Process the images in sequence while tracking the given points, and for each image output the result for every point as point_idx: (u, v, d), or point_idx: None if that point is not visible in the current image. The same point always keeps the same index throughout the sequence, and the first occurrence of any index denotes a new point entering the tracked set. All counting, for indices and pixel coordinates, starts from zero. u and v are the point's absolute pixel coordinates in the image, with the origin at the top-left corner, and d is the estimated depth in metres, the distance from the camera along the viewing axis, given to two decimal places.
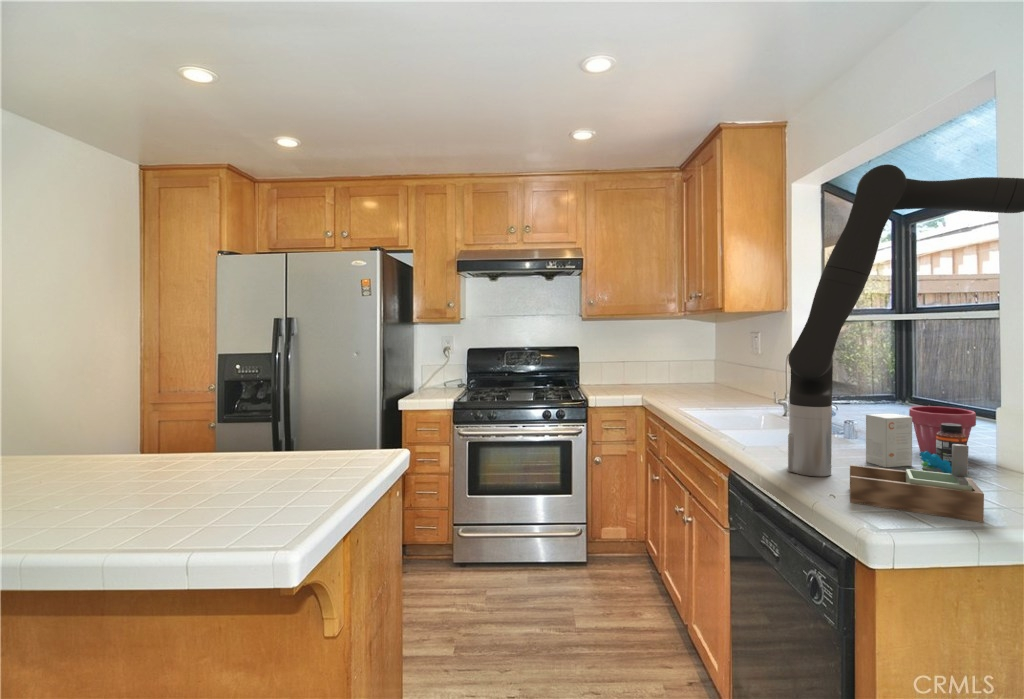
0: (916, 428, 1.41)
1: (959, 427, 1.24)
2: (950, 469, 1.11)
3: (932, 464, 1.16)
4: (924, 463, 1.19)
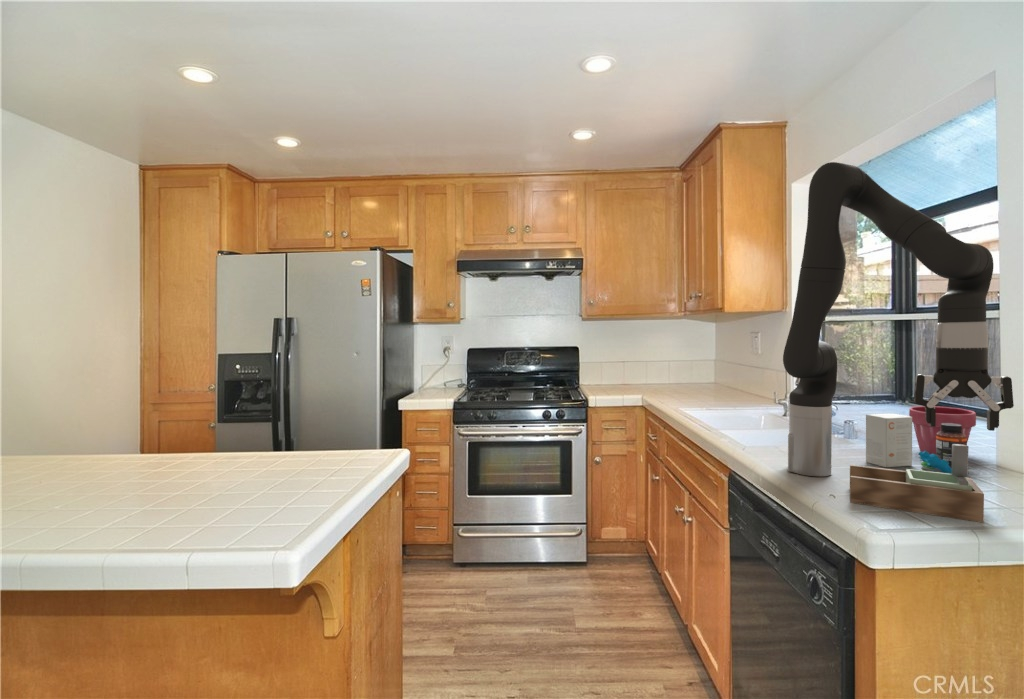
0: (916, 428, 1.41)
1: (959, 427, 1.24)
2: (948, 469, 1.11)
3: (931, 464, 1.16)
4: (924, 463, 1.19)
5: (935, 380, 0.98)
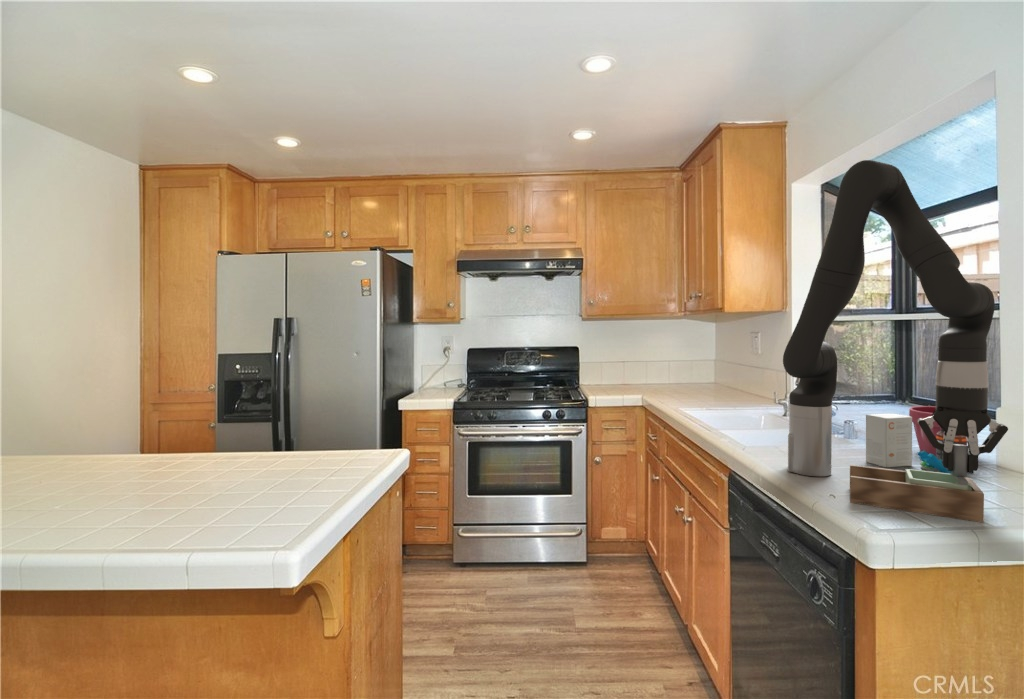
0: (916, 428, 1.41)
1: None
2: None
3: (930, 464, 1.16)
4: (923, 463, 1.19)
5: (936, 420, 0.98)
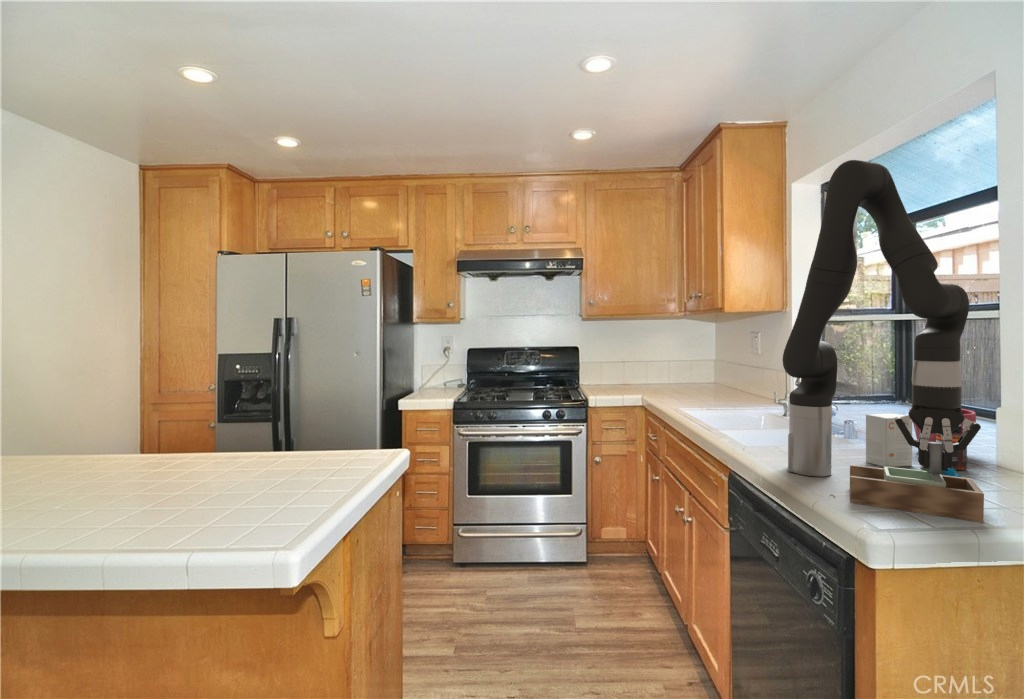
0: (916, 428, 1.41)
1: (959, 427, 1.24)
2: None
3: None
4: None
5: (912, 418, 1.00)
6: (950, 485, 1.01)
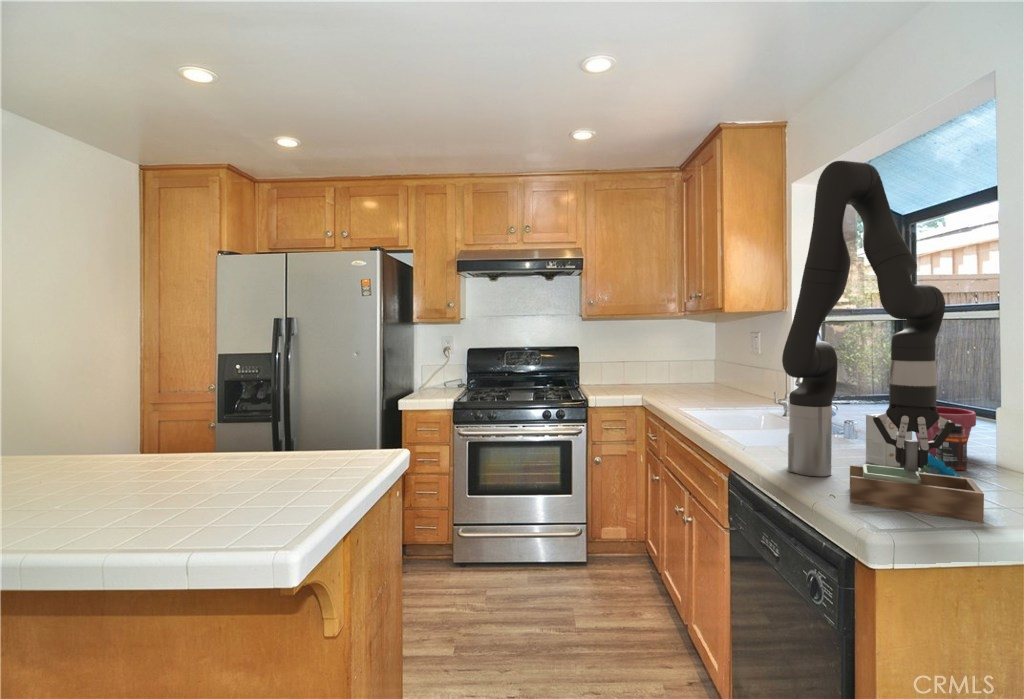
0: None
1: (959, 427, 1.24)
2: (945, 469, 1.11)
3: (929, 464, 1.16)
4: None
5: (889, 417, 1.02)
6: (950, 485, 1.01)
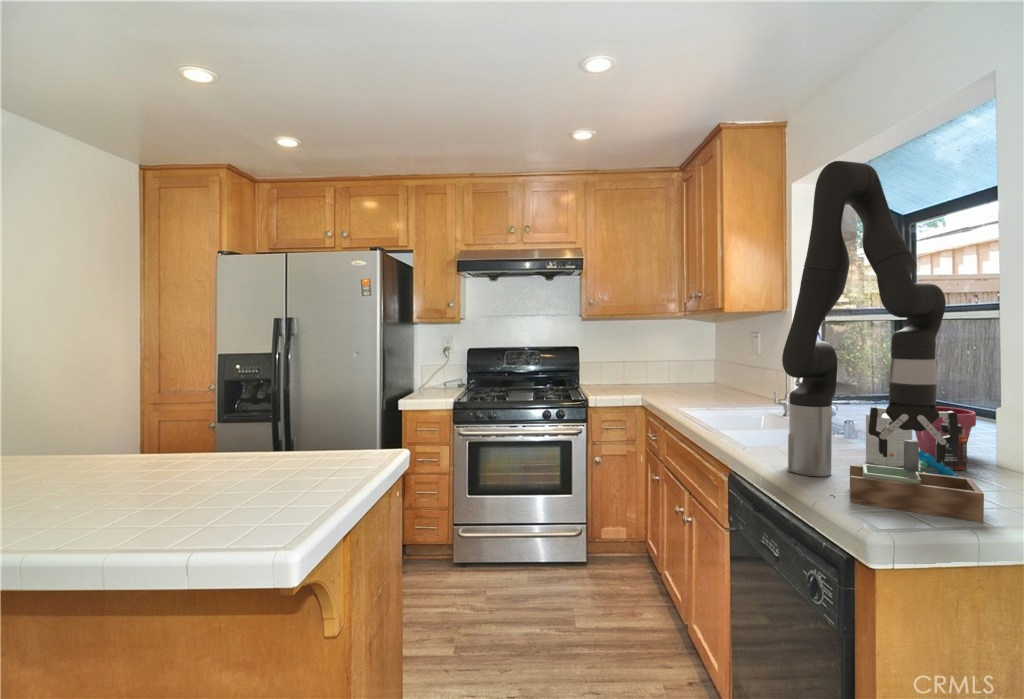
0: None
1: (959, 427, 1.24)
2: (943, 469, 1.11)
3: (928, 464, 1.16)
4: (922, 463, 1.19)
5: (887, 413, 1.02)
6: (950, 485, 1.01)
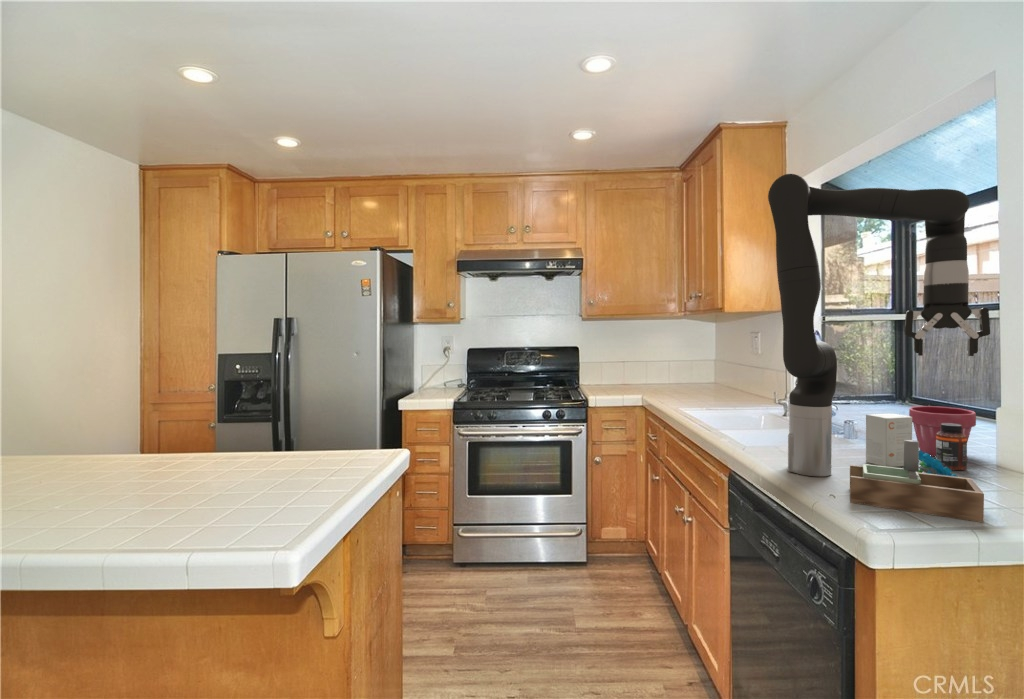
0: (916, 428, 1.41)
1: (959, 427, 1.24)
2: (942, 468, 1.12)
3: (927, 463, 1.16)
4: (922, 463, 1.19)
5: (922, 314, 1.11)
6: (950, 485, 1.01)
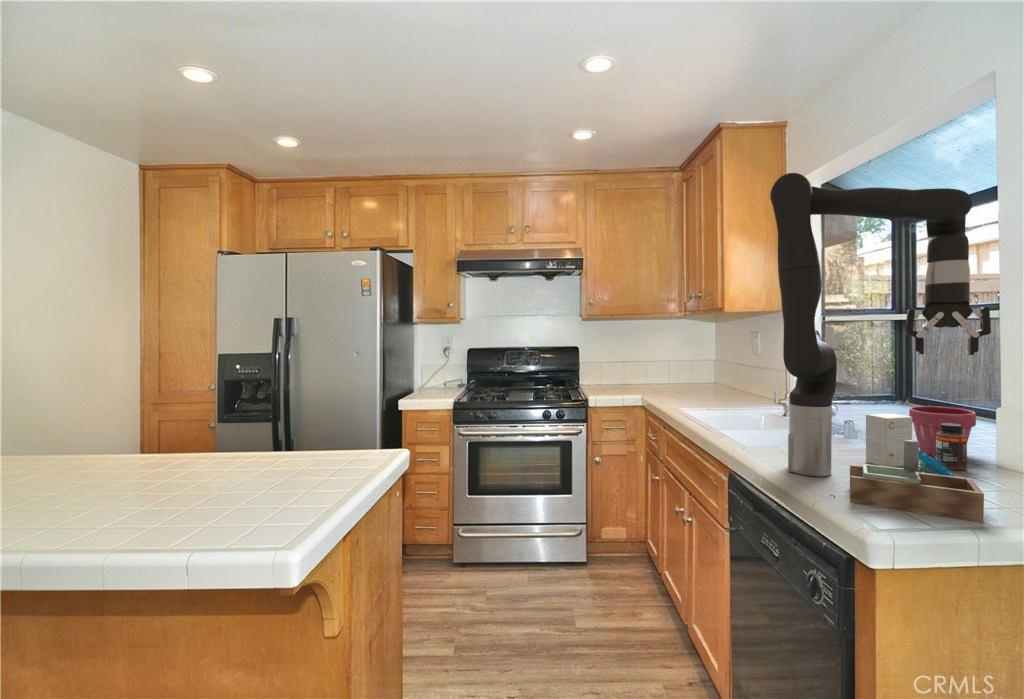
0: (916, 428, 1.41)
1: (959, 427, 1.24)
2: (940, 468, 1.12)
3: (926, 463, 1.16)
4: (921, 463, 1.19)
5: (924, 313, 1.12)
6: (950, 485, 1.01)
